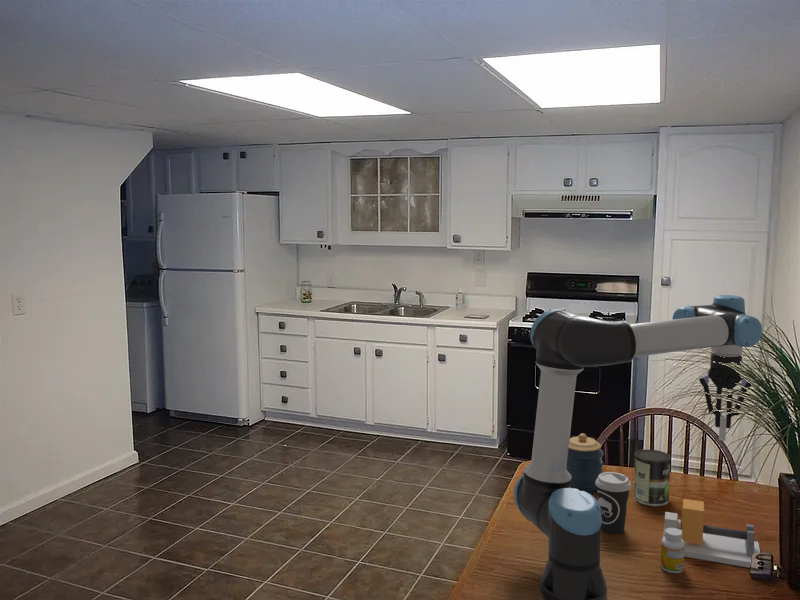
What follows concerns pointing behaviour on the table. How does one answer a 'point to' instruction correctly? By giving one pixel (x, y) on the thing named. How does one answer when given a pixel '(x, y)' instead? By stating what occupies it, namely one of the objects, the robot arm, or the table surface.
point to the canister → (584, 463)
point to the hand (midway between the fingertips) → (722, 438)
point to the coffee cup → (613, 501)
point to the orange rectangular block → (692, 521)
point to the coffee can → (652, 477)
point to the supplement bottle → (672, 551)
